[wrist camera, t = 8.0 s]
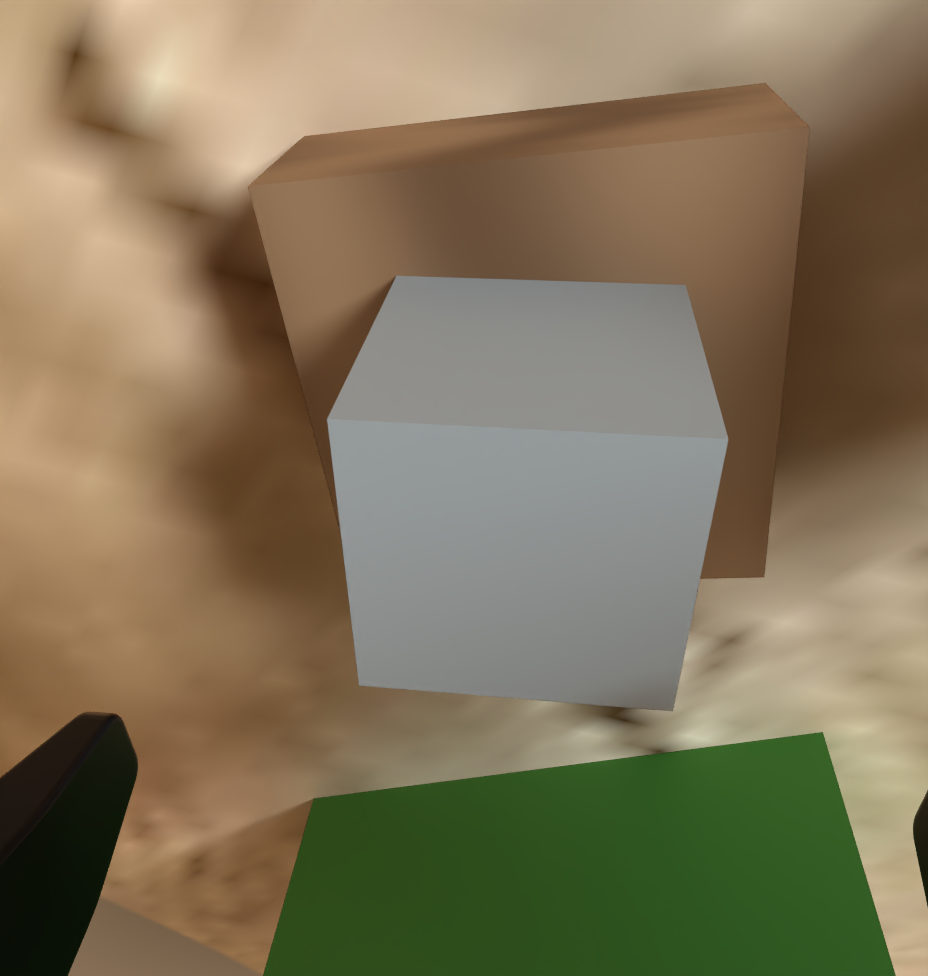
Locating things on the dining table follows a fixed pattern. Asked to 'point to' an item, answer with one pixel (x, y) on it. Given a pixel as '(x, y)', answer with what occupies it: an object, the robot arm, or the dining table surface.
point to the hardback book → (590, 873)
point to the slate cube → (527, 488)
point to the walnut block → (562, 244)
